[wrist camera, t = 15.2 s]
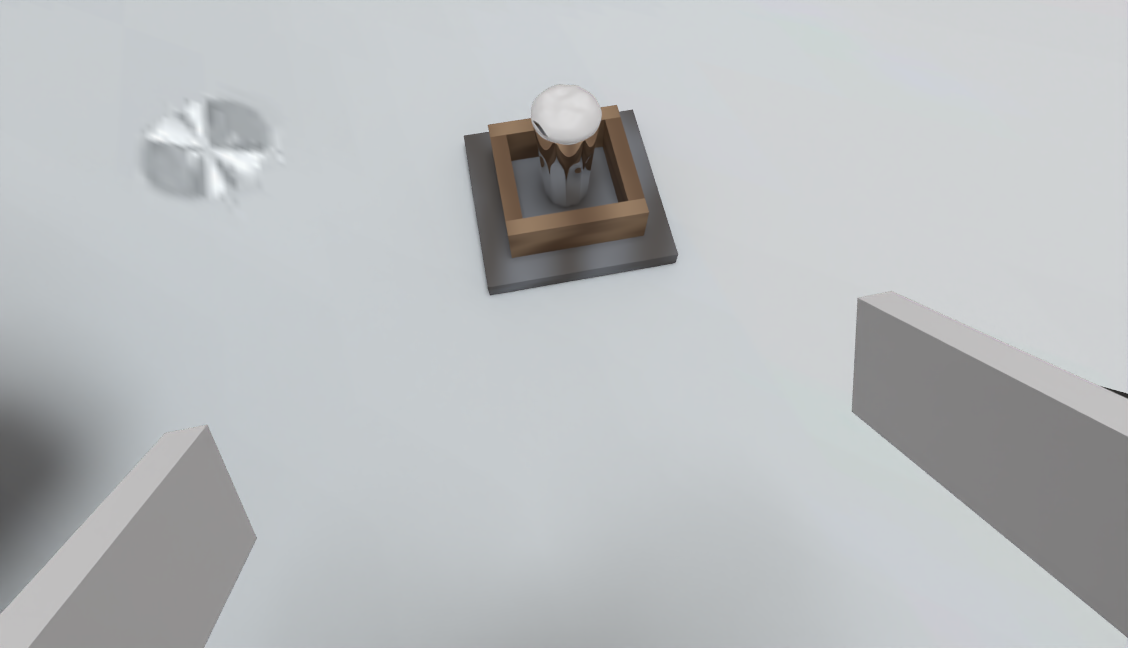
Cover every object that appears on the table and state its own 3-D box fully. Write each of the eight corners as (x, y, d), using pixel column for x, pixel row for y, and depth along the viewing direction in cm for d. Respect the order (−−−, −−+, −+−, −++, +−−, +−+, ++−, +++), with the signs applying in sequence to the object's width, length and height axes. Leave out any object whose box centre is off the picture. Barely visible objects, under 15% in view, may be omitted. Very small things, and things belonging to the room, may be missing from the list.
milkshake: (518, 202, 45) (505, 104, 35) (560, 156, 46) (558, 52, 37) (566, 232, 43) (565, 139, 34) (607, 184, 45) (617, 84, 36)
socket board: (490, 295, 43) (482, 266, 39) (466, 145, 48) (457, 108, 44) (675, 262, 44) (685, 232, 40) (631, 120, 49) (636, 81, 45)
